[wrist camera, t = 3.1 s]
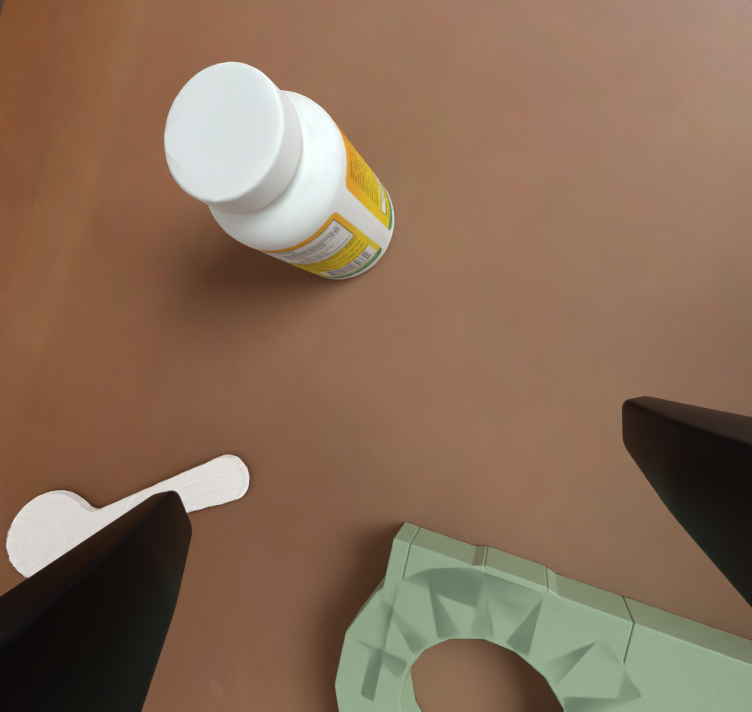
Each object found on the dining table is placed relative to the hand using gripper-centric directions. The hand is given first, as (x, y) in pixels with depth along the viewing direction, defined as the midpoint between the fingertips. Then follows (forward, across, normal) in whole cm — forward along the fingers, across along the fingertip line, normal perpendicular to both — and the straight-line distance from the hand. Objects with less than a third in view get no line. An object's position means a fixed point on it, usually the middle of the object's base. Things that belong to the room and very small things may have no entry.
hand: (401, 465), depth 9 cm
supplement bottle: (+15, 0, -4) cm, 16 cm away
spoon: (+15, +16, +9) cm, 24 cm away
